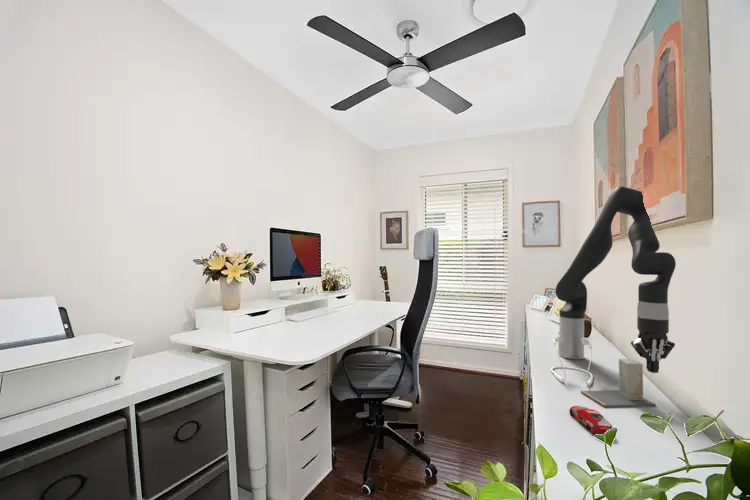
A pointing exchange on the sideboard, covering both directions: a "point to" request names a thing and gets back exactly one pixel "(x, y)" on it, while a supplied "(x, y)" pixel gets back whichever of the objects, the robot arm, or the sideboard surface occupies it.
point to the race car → (590, 419)
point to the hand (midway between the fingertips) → (652, 371)
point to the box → (631, 379)
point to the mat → (615, 399)
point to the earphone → (584, 342)
